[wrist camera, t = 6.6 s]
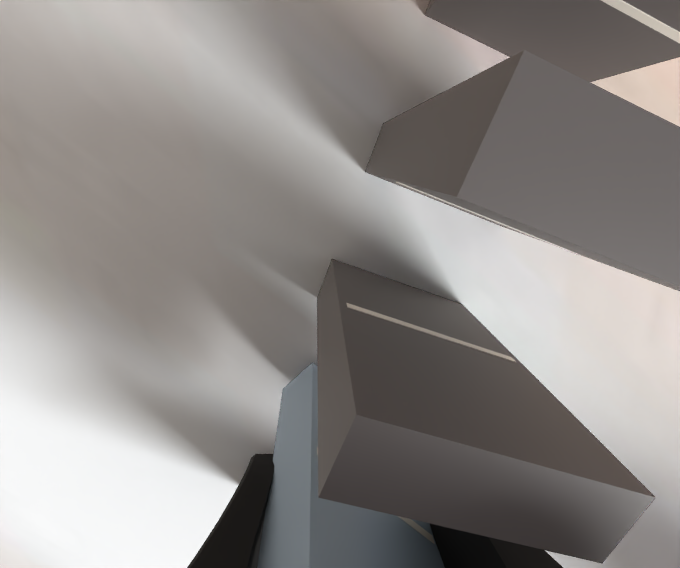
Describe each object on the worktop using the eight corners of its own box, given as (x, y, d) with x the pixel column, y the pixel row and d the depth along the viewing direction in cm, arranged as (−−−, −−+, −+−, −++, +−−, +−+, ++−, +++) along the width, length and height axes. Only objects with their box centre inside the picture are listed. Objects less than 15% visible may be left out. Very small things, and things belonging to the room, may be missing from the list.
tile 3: (332, 258, 12) (356, 413, 5) (462, 303, 13) (656, 495, 6) (317, 298, 13) (317, 498, 5) (444, 340, 14) (601, 564, 6)
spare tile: (312, 361, 13) (308, 652, 5) (405, 440, 14) (508, 761, 7) (282, 389, 13) (237, 701, 6) (376, 464, 14) (442, 797, 7)
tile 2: (383, 122, 11) (525, 47, 4) (523, 182, 12) (878, 223, 4) (364, 172, 12) (456, 198, 4) (501, 226, 12) (788, 332, 5)
